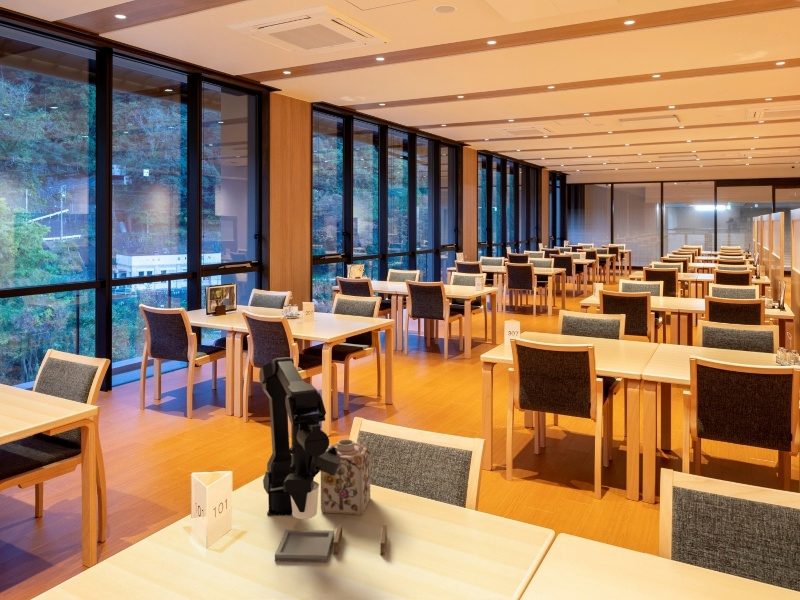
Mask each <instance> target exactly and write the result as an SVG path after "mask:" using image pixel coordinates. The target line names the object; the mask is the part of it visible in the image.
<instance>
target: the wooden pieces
mask: <svg viewBox="0 0 800 600" xmlns="http://www.w3.org/2000/svg"><path fill="white" fill-rule="evenodd" d="M387 526H388V525H387V524H383V525H382V526H381V527H382V528H381V535H380V544H379V545H380V551H379V553H380V554H379V555H380V556H385V555H386V545H387V538H388V537H387V536H388V534H387V533H388V531H387V529H388V527H387ZM342 539H343V524H341V523H340V524H339V523H338V524H337V527H336V531H335V533H334V538H333V542H332V546H333V551H332V552H333V555H339V551H340V546H341V543H342Z"/></svg>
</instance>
